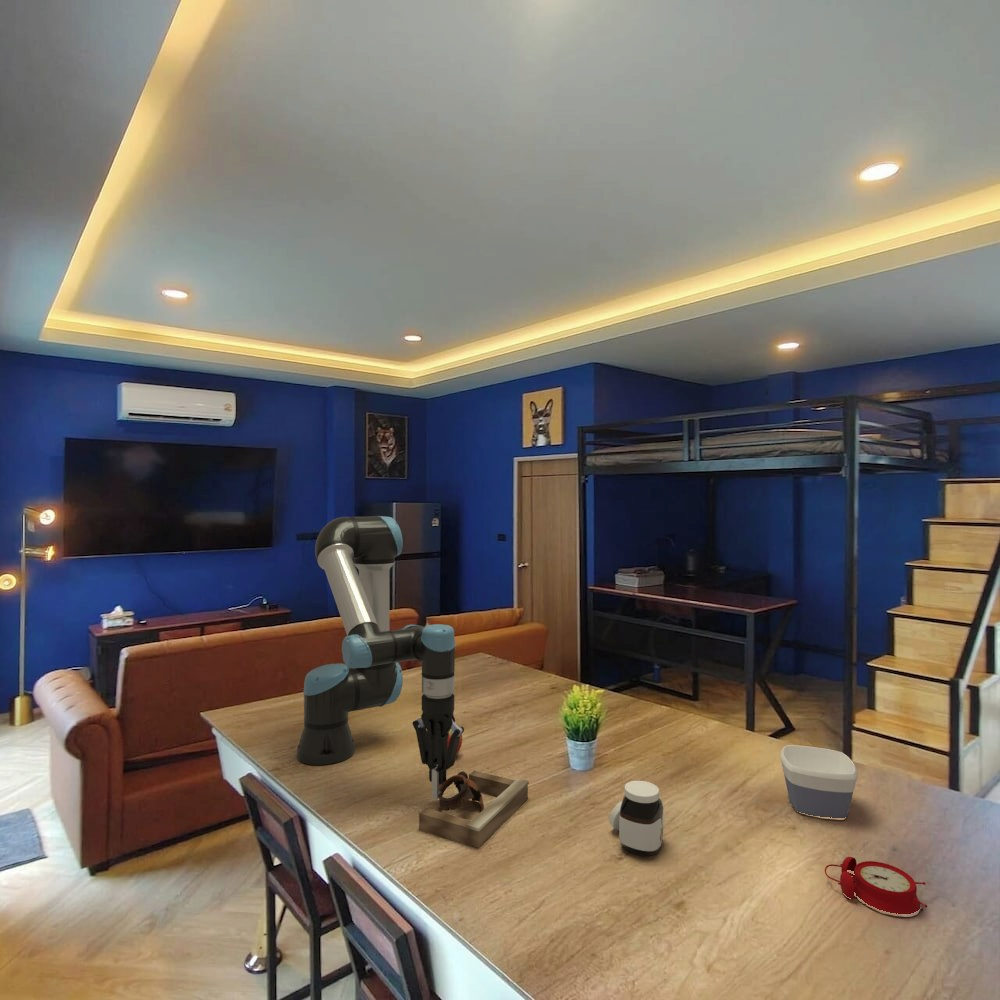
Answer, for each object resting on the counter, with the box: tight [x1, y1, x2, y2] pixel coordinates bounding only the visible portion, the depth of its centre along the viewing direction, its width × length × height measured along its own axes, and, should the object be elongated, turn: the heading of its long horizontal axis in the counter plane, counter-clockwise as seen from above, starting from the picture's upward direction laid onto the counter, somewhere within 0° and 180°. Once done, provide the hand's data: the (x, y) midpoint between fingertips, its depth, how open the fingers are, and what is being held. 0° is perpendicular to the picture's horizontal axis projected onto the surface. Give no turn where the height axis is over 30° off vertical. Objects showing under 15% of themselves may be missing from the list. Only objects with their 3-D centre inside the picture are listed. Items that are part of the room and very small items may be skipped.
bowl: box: [780, 744, 859, 818], centre depth 139 cm, size 15×15×11 cm
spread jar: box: [608, 780, 664, 857], centre depth 125 cm, size 12×11×12 cm
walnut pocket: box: [418, 770, 530, 849], centre depth 136 cm, size 15×23×4 cm, turn 152°
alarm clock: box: [824, 856, 928, 914], centre depth 108 cm, size 10×6×15 cm
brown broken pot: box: [438, 770, 485, 812], centre depth 139 cm, size 12×10×8 cm
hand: (437, 796), depth 140 cm, fingers closed
